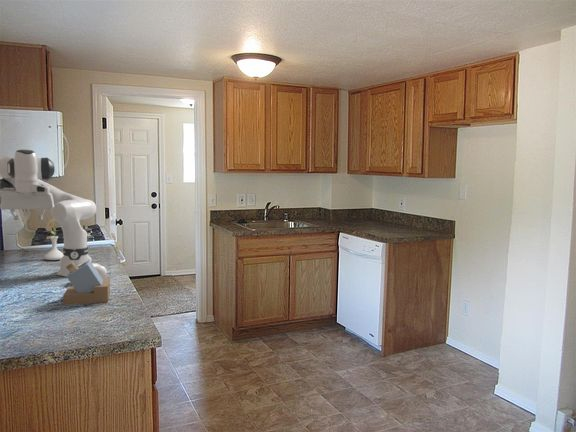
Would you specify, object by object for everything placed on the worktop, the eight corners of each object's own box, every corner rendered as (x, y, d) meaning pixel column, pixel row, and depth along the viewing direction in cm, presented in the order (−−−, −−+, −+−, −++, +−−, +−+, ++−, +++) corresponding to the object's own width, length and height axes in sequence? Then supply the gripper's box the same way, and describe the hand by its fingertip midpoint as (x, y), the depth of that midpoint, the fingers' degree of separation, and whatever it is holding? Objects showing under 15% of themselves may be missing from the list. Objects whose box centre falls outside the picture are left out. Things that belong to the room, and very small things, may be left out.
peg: (85, 286, 203) (66, 266, 200) (92, 281, 203) (73, 261, 200) (84, 288, 200) (65, 267, 197) (91, 283, 200) (71, 262, 197)
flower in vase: (44, 258, 283) (42, 217, 280) (65, 257, 288) (64, 216, 285) (43, 262, 271) (41, 219, 268) (65, 261, 276) (63, 219, 273)
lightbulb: (91, 291, 214) (90, 267, 213) (93, 287, 220) (92, 264, 219) (106, 290, 216) (105, 266, 215) (107, 286, 222) (107, 263, 221)
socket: (68, 295, 206) (67, 259, 204) (110, 293, 211) (109, 258, 209) (63, 304, 193) (62, 266, 191) (107, 302, 198) (107, 264, 196)
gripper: (-3, 187, 196) (-2, 220, 198) (51, 188, 202) (52, 220, 204) (1, 187, 202) (3, 219, 204) (54, 187, 208) (55, 218, 210)
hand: (28, 219), depth 204 cm, fingers open, 8 cm apart
